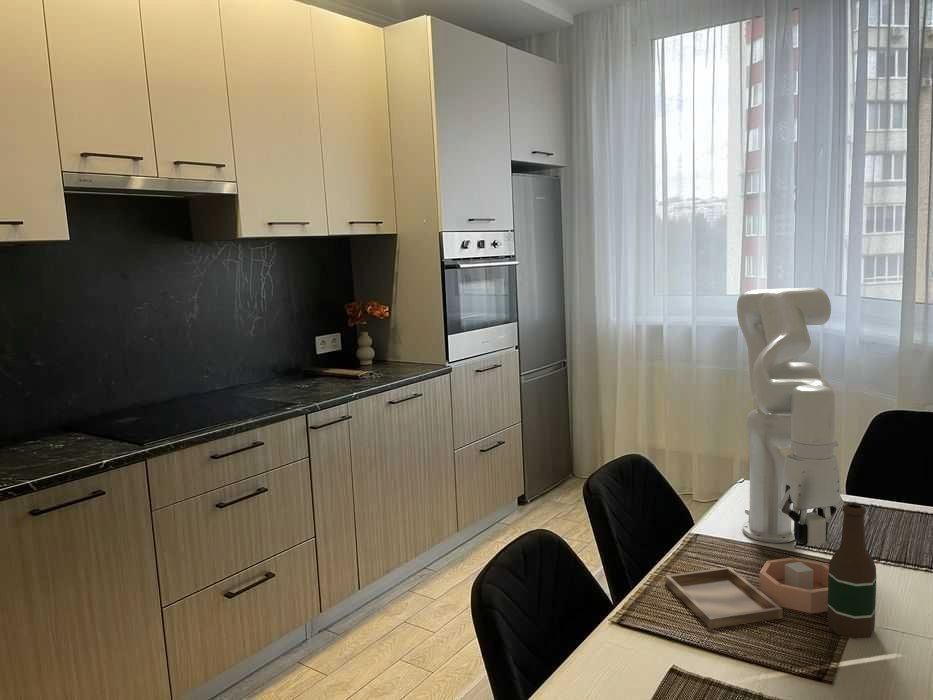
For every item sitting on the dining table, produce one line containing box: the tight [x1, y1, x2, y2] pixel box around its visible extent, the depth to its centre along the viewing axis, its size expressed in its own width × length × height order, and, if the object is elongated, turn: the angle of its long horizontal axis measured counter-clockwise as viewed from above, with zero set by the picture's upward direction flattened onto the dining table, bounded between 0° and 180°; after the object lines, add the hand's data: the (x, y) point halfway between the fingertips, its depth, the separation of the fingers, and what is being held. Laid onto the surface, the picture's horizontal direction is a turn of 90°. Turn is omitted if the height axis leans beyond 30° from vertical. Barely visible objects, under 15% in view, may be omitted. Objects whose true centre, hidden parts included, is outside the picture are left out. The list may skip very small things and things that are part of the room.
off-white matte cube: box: [785, 562, 813, 590], centre depth 146 cm, size 4×4×5 cm
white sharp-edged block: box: [805, 511, 827, 547], centre depth 140 cm, size 4×4×5 cm
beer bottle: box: [826, 503, 877, 640], centre depth 130 cm, size 8×8×24 cm
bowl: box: [759, 557, 829, 614], centre depth 145 cm, size 15×15×5 cm
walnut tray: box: [664, 566, 783, 629], centre depth 144 cm, size 19×15×2 cm
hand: (810, 539), depth 141 cm, fingers closed on white sharp-edged block, 3 cm apart
